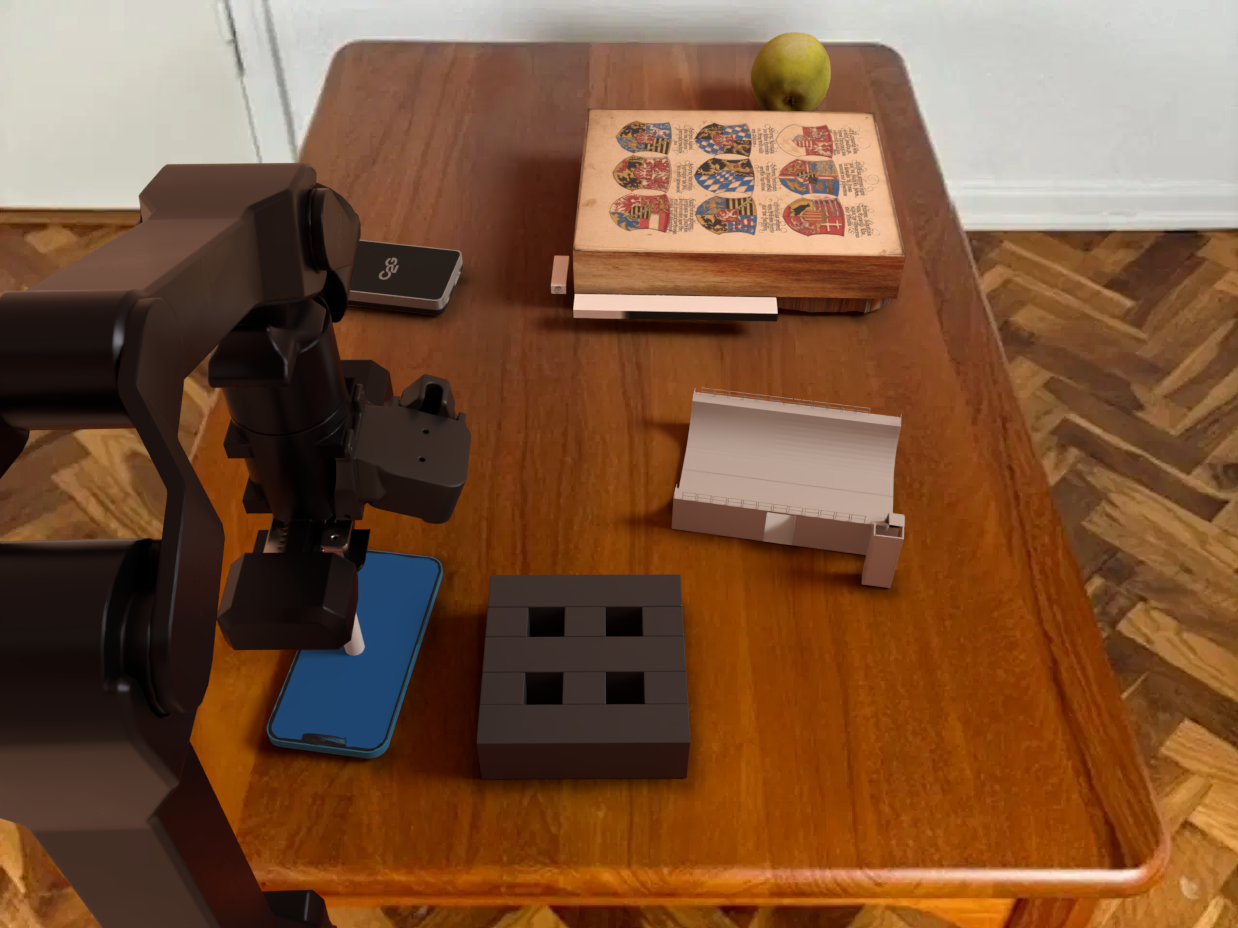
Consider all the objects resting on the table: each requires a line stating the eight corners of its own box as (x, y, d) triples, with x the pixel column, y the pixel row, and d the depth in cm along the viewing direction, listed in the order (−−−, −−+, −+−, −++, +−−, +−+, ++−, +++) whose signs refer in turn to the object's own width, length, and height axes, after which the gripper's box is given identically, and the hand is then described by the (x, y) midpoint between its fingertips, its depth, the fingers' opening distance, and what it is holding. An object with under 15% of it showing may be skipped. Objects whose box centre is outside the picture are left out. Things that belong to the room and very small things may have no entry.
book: (549, 336, 97) (897, 343, 96) (545, 272, 92) (910, 279, 91) (569, 168, 114) (864, 173, 113) (566, 108, 109) (874, 112, 108)
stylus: (357, 659, 74) (327, 545, 66) (340, 652, 74) (308, 538, 66) (368, 644, 74) (340, 529, 66) (352, 637, 75) (321, 522, 67)
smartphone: (446, 558, 79) (383, 754, 69) (447, 567, 80) (385, 763, 70) (338, 545, 80) (260, 738, 70) (341, 555, 81) (263, 747, 70)
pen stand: (687, 778, 69) (690, 742, 66) (481, 779, 69) (476, 743, 66) (678, 612, 78) (680, 573, 75) (494, 612, 77) (490, 574, 74)
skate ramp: (893, 448, 88) (906, 397, 84) (890, 589, 79) (904, 539, 75) (691, 422, 90) (695, 372, 86) (665, 558, 81) (668, 507, 77)
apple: (825, 93, 123) (835, 18, 118) (825, 139, 117) (836, 63, 111) (749, 88, 124) (756, 13, 118) (745, 134, 118) (752, 58, 112)
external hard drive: (444, 320, 98) (441, 301, 96) (314, 306, 99) (309, 287, 97) (465, 269, 102) (463, 250, 101) (341, 256, 104) (337, 237, 102)
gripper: (434, 540, 52) (465, 728, 64) (466, 276, 65) (487, 471, 76) (178, 541, 52) (254, 729, 63) (261, 276, 65) (312, 472, 76)
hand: (339, 589), depth 70 cm, fingers closed on stylus, 1 cm apart
